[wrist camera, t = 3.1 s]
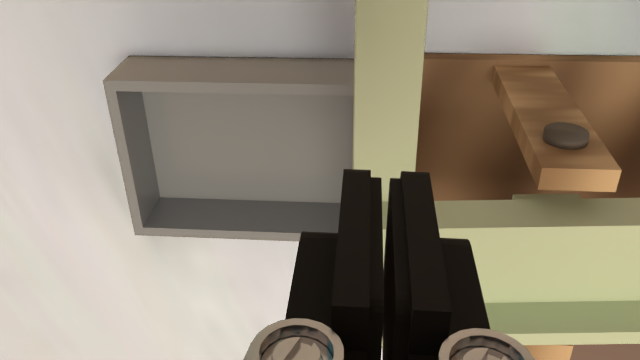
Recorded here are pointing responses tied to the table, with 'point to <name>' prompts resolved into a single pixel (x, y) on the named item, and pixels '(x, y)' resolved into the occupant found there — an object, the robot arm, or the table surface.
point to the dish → (233, 144)
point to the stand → (530, 130)
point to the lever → (499, 207)
